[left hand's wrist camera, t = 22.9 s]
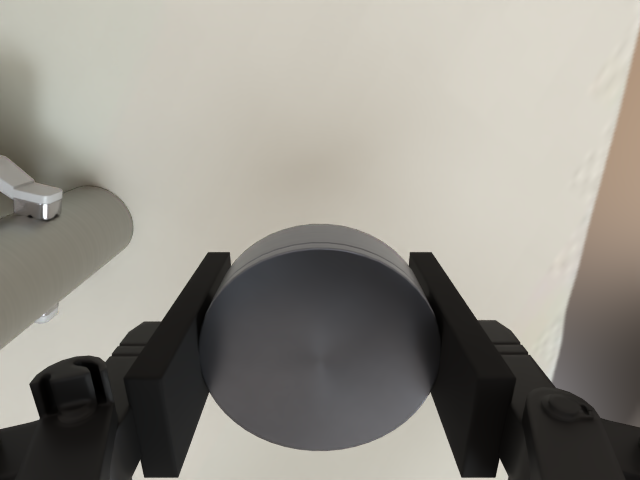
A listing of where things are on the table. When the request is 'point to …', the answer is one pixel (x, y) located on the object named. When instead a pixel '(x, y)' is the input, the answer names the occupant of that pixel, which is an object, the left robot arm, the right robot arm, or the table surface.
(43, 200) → the right robot arm
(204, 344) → the lid
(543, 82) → the table surface
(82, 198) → the jar
